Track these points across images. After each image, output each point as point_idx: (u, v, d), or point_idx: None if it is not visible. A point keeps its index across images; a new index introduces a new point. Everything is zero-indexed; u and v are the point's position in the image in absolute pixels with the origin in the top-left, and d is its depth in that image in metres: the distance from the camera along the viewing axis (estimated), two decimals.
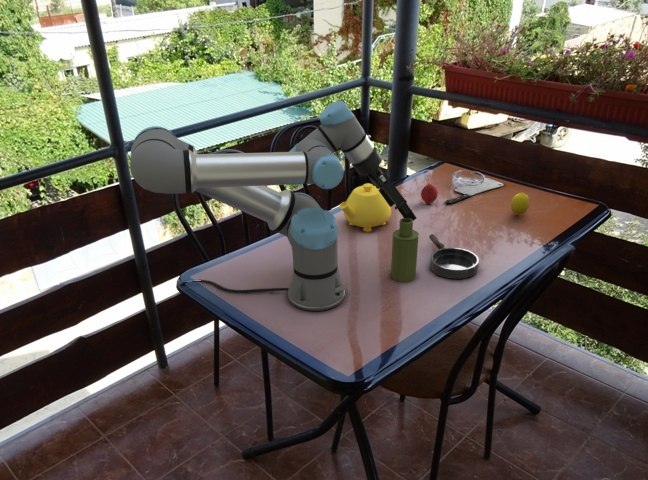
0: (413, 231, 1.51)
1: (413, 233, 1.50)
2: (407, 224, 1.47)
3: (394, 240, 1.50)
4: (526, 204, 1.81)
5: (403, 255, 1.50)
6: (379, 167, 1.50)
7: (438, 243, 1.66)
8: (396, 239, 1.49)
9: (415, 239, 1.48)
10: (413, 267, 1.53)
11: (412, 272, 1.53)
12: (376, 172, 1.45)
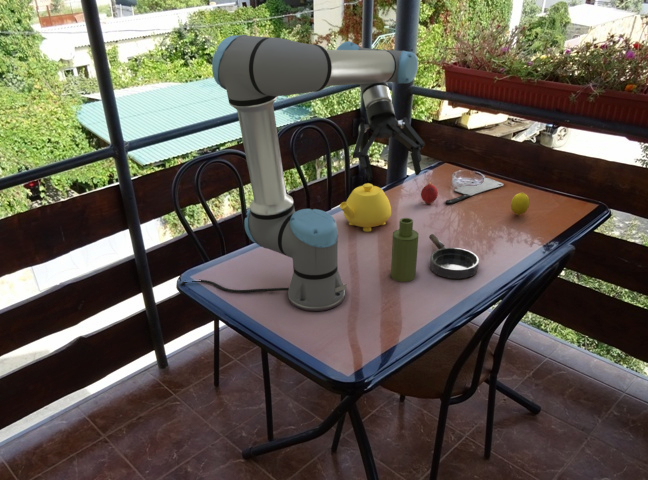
0: (413, 231, 1.51)
1: (413, 233, 1.50)
2: (407, 224, 1.47)
3: (394, 240, 1.50)
4: (526, 204, 1.81)
5: (403, 255, 1.50)
6: None
7: (438, 243, 1.66)
8: (396, 239, 1.49)
9: (415, 239, 1.48)
10: (413, 267, 1.53)
11: (412, 272, 1.53)
12: None
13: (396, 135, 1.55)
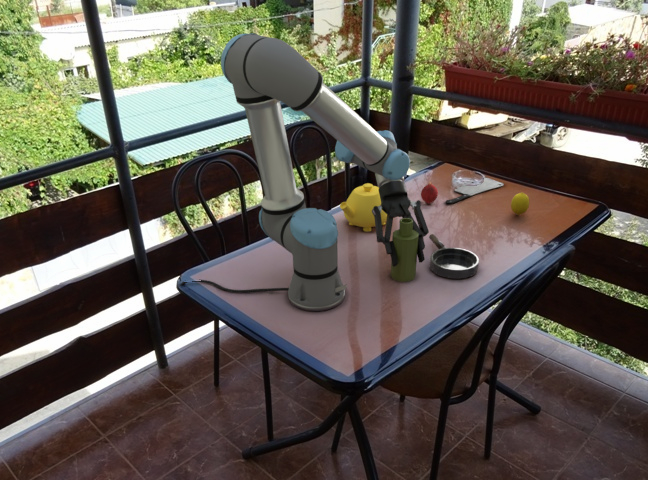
0: (413, 231, 1.51)
1: (413, 233, 1.50)
2: (407, 224, 1.47)
3: (394, 240, 1.50)
4: (526, 204, 1.81)
5: (403, 255, 1.50)
6: None
7: (438, 243, 1.66)
8: (396, 239, 1.49)
9: (415, 239, 1.48)
10: (413, 267, 1.53)
11: (412, 272, 1.53)
12: None
13: (405, 216, 1.54)
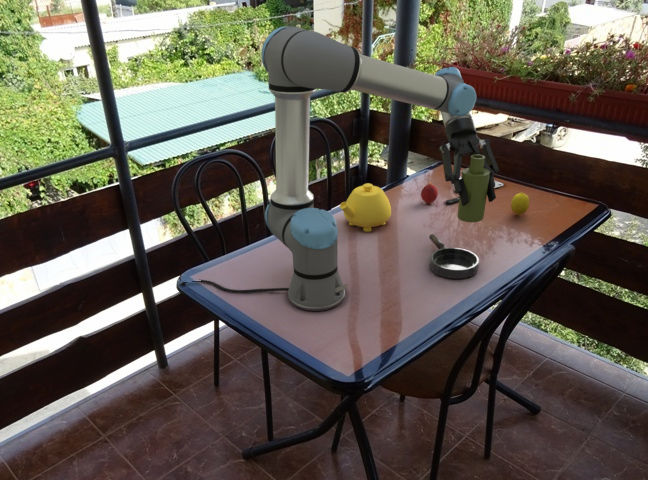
0: (483, 169, 1.47)
1: (484, 170, 1.46)
2: (479, 160, 1.42)
3: (464, 178, 1.45)
4: (526, 204, 1.81)
5: (474, 193, 1.46)
6: None
7: (438, 243, 1.66)
8: (467, 176, 1.44)
9: (487, 176, 1.44)
10: (483, 206, 1.48)
11: (481, 212, 1.49)
12: None
13: None
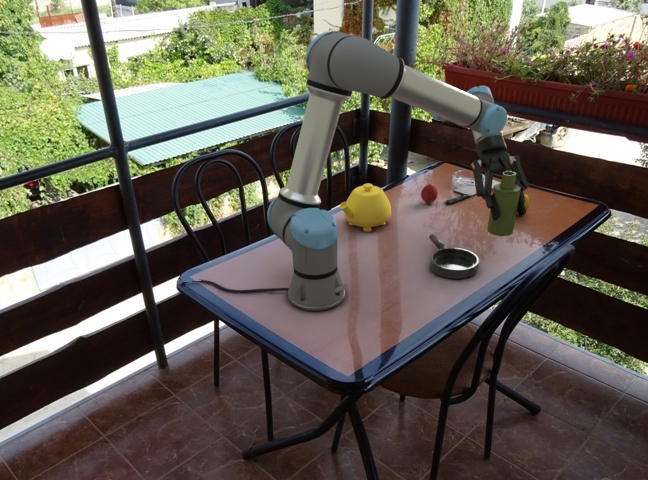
0: (514, 185, 1.52)
1: (514, 186, 1.51)
2: (511, 176, 1.47)
3: (496, 193, 1.50)
4: (526, 204, 1.81)
5: (505, 208, 1.50)
6: None
7: (438, 243, 1.66)
8: (498, 192, 1.49)
9: (518, 192, 1.49)
10: (513, 221, 1.53)
11: (511, 226, 1.54)
12: None
13: (504, 171, 1.54)
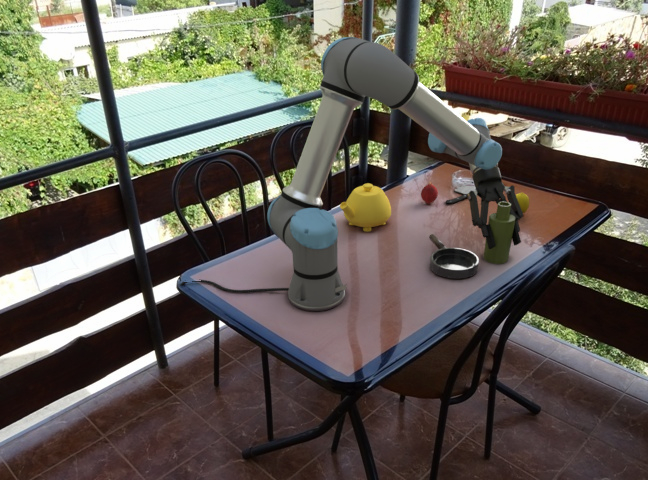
0: (509, 214, 1.56)
1: (509, 216, 1.55)
2: (506, 207, 1.52)
3: (491, 223, 1.55)
4: (526, 204, 1.81)
5: (500, 237, 1.55)
6: None
7: (438, 243, 1.66)
8: (494, 222, 1.54)
9: (513, 222, 1.53)
10: (508, 249, 1.58)
11: (506, 254, 1.59)
12: None
13: (499, 201, 1.59)
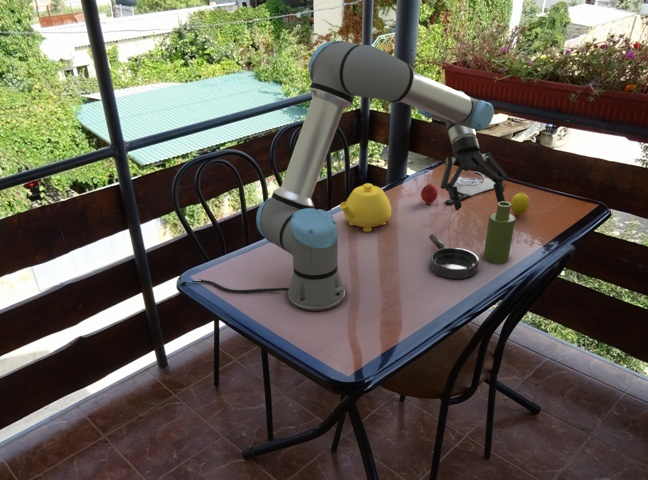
0: (509, 214, 1.56)
1: (509, 216, 1.55)
2: (506, 207, 1.52)
3: (491, 223, 1.55)
4: (526, 204, 1.81)
5: (500, 237, 1.55)
6: None
7: (438, 243, 1.66)
8: (494, 222, 1.54)
9: (513, 222, 1.53)
10: (508, 249, 1.58)
11: (506, 254, 1.59)
12: None
13: (480, 168, 1.68)
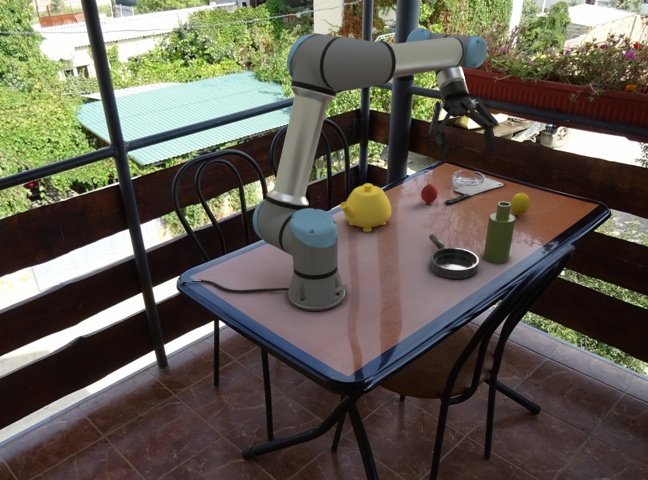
0: (509, 214, 1.56)
1: (509, 216, 1.55)
2: (506, 207, 1.52)
3: (491, 223, 1.55)
4: (526, 204, 1.81)
5: (500, 237, 1.55)
6: None
7: (438, 243, 1.66)
8: (494, 222, 1.54)
9: (513, 222, 1.53)
10: (508, 249, 1.58)
11: (506, 254, 1.59)
12: None
13: (470, 114, 1.61)
